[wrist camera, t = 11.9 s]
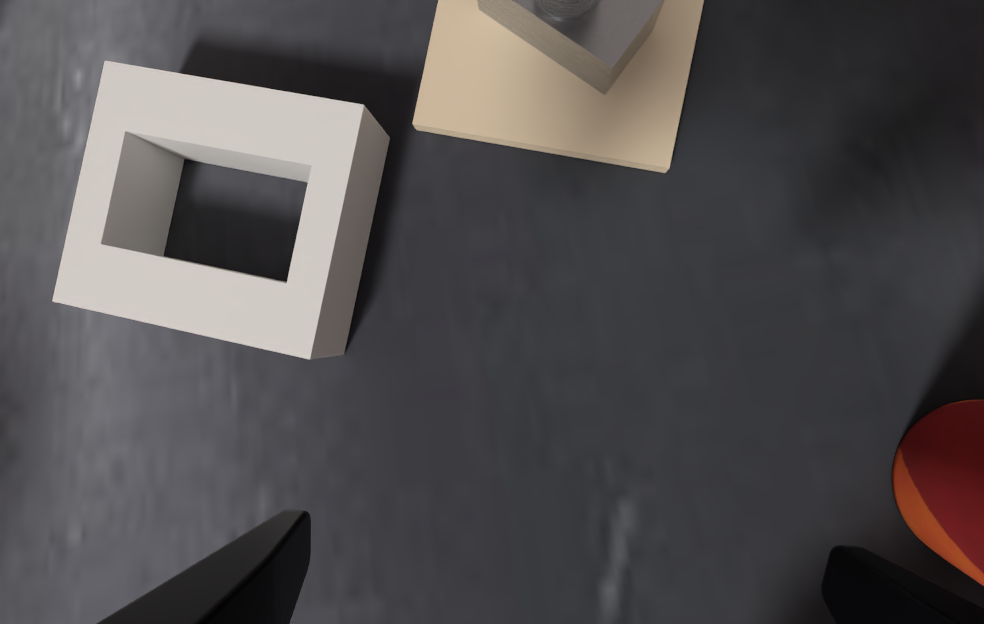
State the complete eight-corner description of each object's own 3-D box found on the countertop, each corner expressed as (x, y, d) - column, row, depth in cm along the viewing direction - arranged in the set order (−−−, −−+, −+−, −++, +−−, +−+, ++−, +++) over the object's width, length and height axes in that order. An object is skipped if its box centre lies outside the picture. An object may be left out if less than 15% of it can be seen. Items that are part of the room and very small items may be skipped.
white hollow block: (389, 137, 20) (364, 104, 17) (343, 354, 20) (310, 359, 17) (166, 98, 21) (105, 61, 18) (121, 304, 21) (52, 301, 18)
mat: (717, -79, 19) (722, -93, 18) (665, 172, 19) (669, 167, 18) (466, -110, 20) (464, -124, 19) (416, 129, 20) (412, 123, 19)
